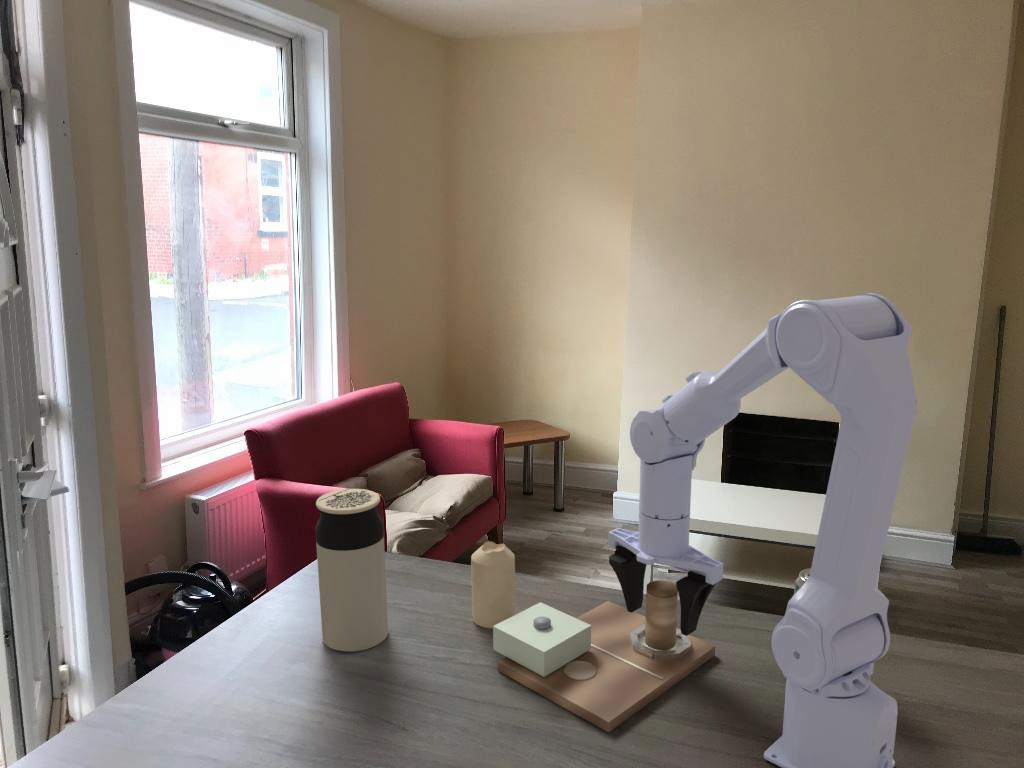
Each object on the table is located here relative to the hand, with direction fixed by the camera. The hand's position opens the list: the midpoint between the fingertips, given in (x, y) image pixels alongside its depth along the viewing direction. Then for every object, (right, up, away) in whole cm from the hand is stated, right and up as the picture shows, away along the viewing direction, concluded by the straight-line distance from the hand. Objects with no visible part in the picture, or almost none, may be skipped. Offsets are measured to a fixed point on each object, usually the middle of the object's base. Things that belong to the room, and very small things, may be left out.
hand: (660, 620), depth 96 cm
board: (-6, -5, -1) cm, 8 cm away
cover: (-14, -3, -1) cm, 14 cm away
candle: (-20, -3, +9) cm, 22 cm away
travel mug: (-37, -4, +5) cm, 37 cm away
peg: (0, -3, +1) cm, 3 cm away
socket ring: (0, -3, +1) cm, 3 cm away
